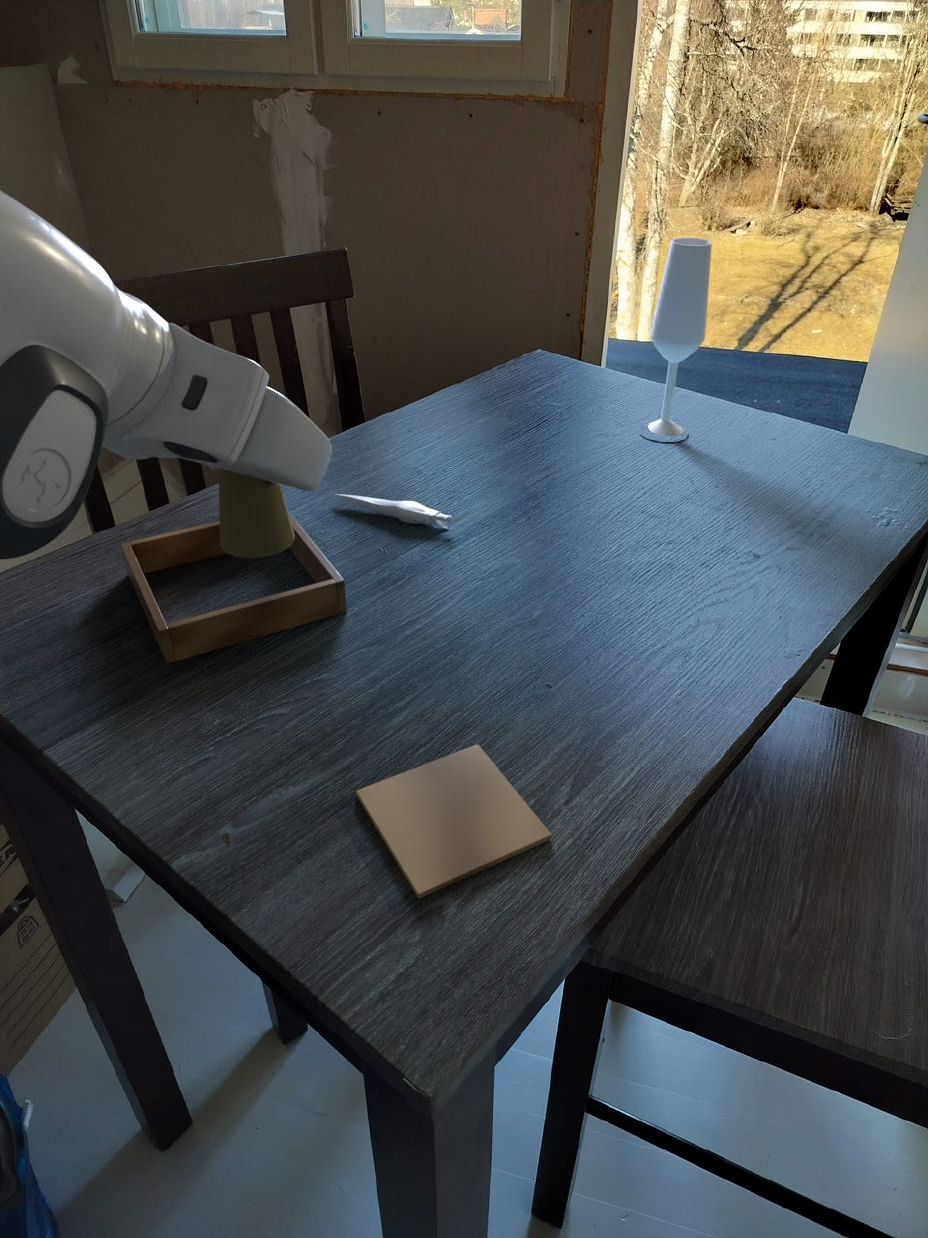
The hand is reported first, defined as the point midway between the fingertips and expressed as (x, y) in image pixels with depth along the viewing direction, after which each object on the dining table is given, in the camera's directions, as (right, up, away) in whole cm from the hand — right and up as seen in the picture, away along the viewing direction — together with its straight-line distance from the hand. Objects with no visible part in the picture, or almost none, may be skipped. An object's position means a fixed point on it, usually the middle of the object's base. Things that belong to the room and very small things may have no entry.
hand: (253, 469), depth 67 cm
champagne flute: (+43, +13, +47) cm, 66 cm away
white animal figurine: (+9, 0, +28) cm, 29 cm away
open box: (-6, -9, +15) cm, 18 cm away
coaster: (+16, -25, -8) cm, 31 cm away
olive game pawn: (0, -5, +3) cm, 6 cm away
